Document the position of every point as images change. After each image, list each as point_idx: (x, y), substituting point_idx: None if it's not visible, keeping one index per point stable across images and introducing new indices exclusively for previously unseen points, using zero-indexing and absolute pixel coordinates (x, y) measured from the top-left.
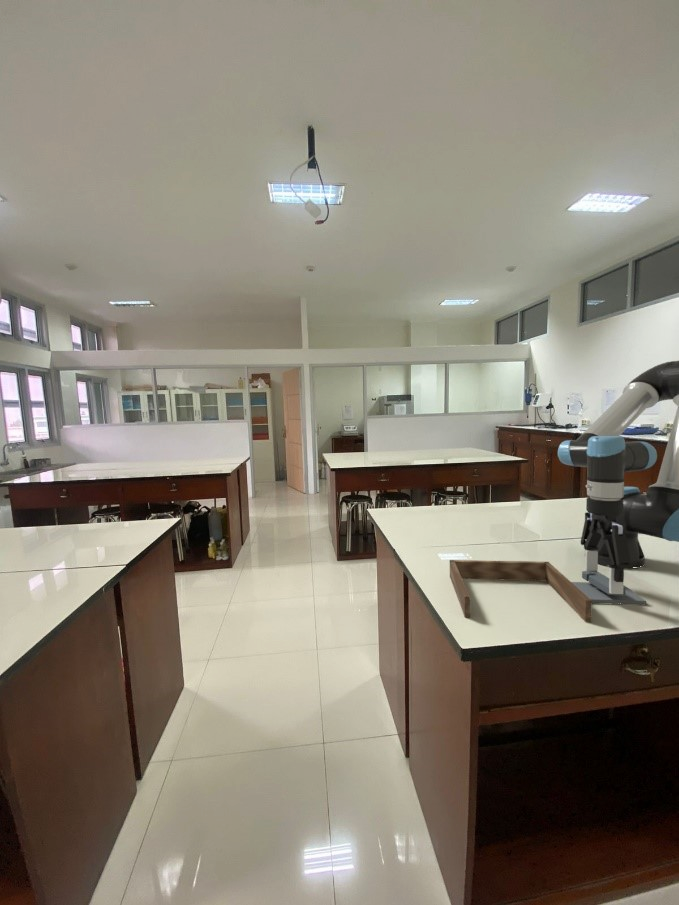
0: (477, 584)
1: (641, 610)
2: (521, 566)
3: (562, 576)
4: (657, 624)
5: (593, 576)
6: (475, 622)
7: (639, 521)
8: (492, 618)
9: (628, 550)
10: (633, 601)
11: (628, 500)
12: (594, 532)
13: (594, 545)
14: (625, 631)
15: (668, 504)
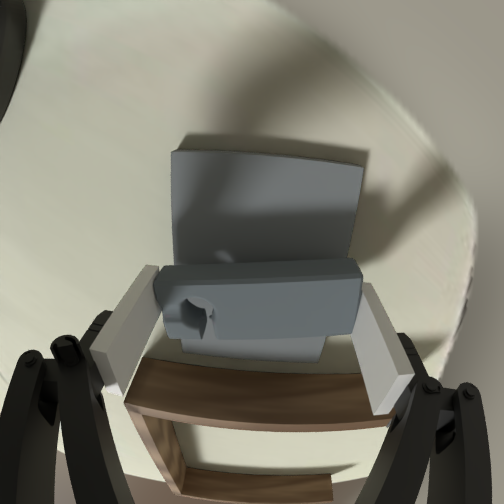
0: (208, 458)
1: (391, 214)
2: (159, 438)
3: (261, 427)
4: (461, 233)
5: (230, 333)
6: (344, 470)
7: None
8: (339, 462)
9: (490, 467)
10: (353, 216)
11: None
12: None
13: (96, 400)
14: (454, 326)
15: None
